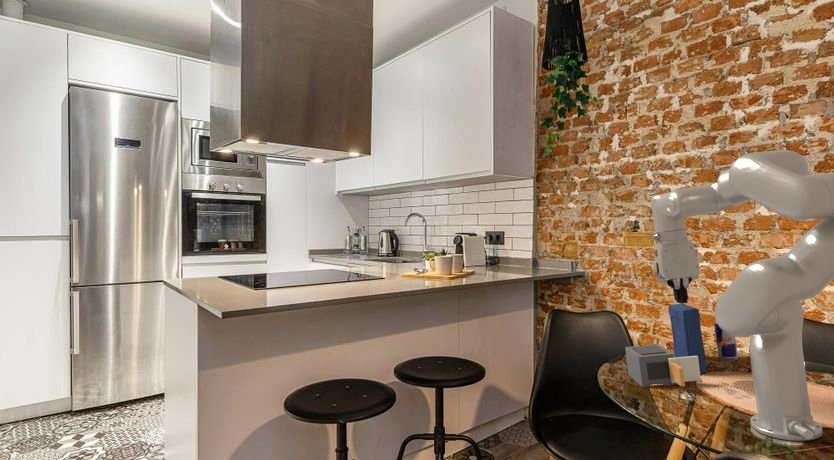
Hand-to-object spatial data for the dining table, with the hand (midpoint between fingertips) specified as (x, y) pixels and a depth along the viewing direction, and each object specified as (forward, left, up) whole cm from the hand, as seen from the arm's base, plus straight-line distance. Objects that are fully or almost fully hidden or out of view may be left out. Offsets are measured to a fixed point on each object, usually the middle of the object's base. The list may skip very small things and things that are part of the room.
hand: (682, 302), depth 128 cm
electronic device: (+19, -8, -26) cm, 33 cm away
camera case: (+13, +6, -25) cm, 29 cm away
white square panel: (+4, -1, -24) cm, 25 cm away
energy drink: (+26, -23, -26) cm, 43 cm away
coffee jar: (+28, -12, -26) cm, 40 cm away
